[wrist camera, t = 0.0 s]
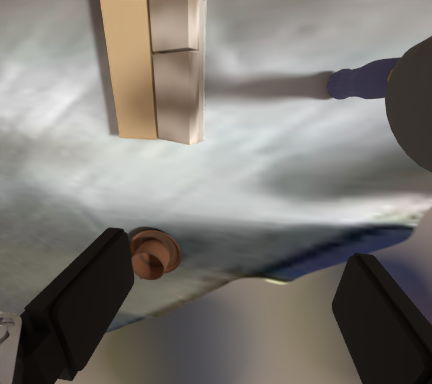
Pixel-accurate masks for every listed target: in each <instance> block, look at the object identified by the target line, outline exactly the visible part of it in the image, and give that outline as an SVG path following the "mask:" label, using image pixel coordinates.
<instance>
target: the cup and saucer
mask: <svg viewBox="0 0 432 384" xmlns="http://www.w3.org/2000/svg"><path fill="white" fill-rule="evenodd" d="M129 246H130V253H131V257H132V258H131V259H132V266H133V271H134V273H135V274H136V275H138V276H139V277H141V278H140V279H147V280H156V279H158V278H160V277H161V276H162V275H163V274H164V273H168V272H171V271H173V270H174V269H176V268H177V267H178V265H179V263H180V261H181V251H180V248H179V246H178V244H177V243H176V241H175V240H174V239H173V238H172V237H170V236H169V235H167V234H165V233H163V232H161V231H157V230H145V231H141V232H139V233H137V234H136V235H135V236H134V237H133V238H132V239H131V241H130V245H129Z"/></svg>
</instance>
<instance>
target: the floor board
mask: <svg viewBox="0 0 432 384" xmlns="http://www.w3.org/2000/svg"><path fill="white" fill-rule="evenodd" d="M100 3H101V10H102V17H103V24H104V31H105V38H106V45H107V52H108V59H109V66H110V73H111V80H112V87H113V95H114V102H115V109H116V116H117V123H118V130H119V137H120V138H132V139H148V140H157V139H159V136H158V121H157V107H156V93H155V78H154V64H153V55H157V54H161V53H157V52H153V49H152V35H151V20H150V6H149V0H100ZM191 52H194V53H198V54H199V142H203V141H204V116H205V53H206V0H199V50H196V51H191Z"/></svg>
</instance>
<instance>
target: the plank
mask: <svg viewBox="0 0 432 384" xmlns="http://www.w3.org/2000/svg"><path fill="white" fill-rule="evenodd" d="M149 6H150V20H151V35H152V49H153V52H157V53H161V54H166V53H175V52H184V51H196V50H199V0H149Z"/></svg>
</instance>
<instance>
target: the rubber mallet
mask: <svg viewBox="0 0 432 384" xmlns="http://www.w3.org/2000/svg"><path fill="white" fill-rule="evenodd" d="M327 89H328V92H329V95H330V96H331V97H333V98H335V99H338V100H339V99H345V98H348V97H355V96H356V97H361V98H364V99H378V98H385V105H386V114H387V118H388V121H389V124H390V127H391V130H392V132H393V134H394V136H395V138H396V140H397V142H398V143H399V145H400V146H401V147H402V149H403V150H404V151H405V153H406V154H407V155H408V156H409V157H410V158H411V159H412V160H414V161H415V162H416V163H417V164H418V165H419V166H421V167H423V168H425V169H427V170H428V171H430V172H432V36H431V37H429V38H428V39H426V40H424V41H422V42H421V43H419V44H417V45H415V46H414V47H412V48H410V49H409V50H408V51H407V52H406V53H405V54H404V55H403V56H402V57H401V58H390V59H382V60H377V61H373V62H371V63H369V64H367V65H365V66H363V67H361V68H357V69H353V70H351V69H342V70H340V71H338V72H336V73H334V75H333V76H332V77H331V78H330V80H329V82H328V87H327Z"/></svg>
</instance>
